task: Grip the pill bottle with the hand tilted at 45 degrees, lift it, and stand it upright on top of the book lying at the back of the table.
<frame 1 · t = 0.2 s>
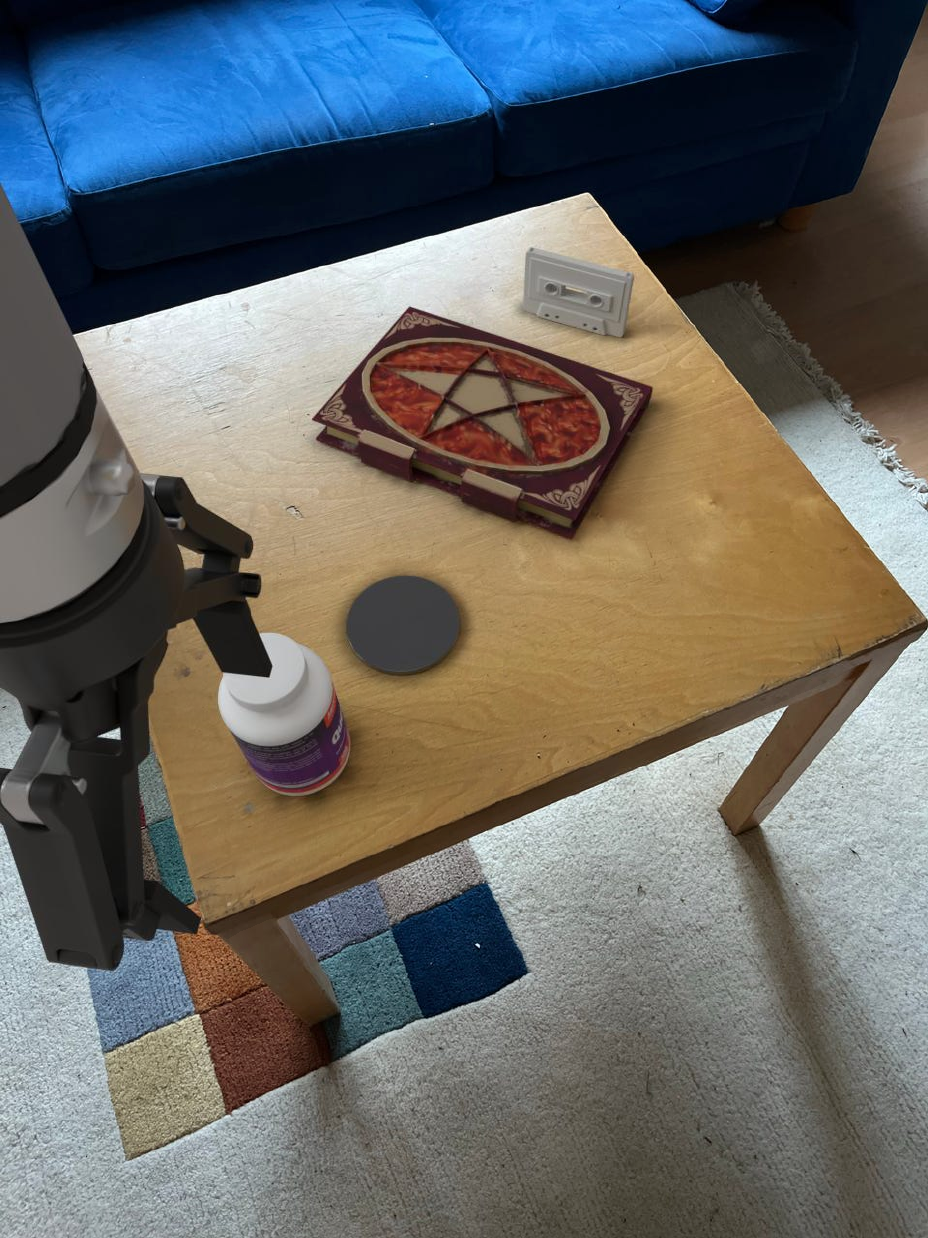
hand: (212, 786, 44), 23 cm above the table, tool pointing down, fingers open, 13 cm apart
coaster: (403, 625, 76), on the table
pill bottle: (303, 753, 70), on the table
book: (483, 426, 89), on the table
cassette: (572, 323, 97), on the table
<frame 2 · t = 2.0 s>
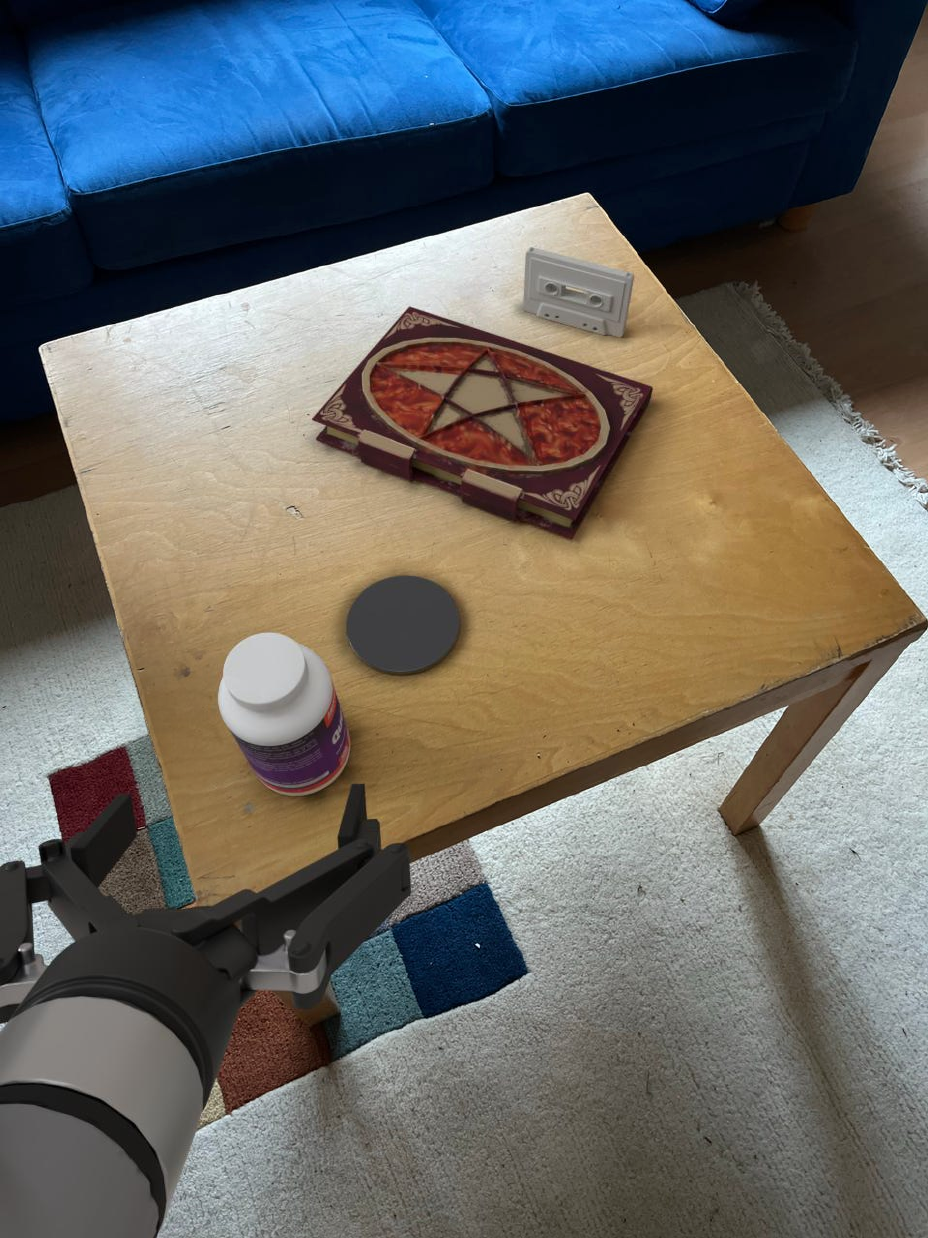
hand: (244, 809, 50), 16 cm above the table, tool tilted 45°, fingers open, 13 cm apart
nothing on the table moved.
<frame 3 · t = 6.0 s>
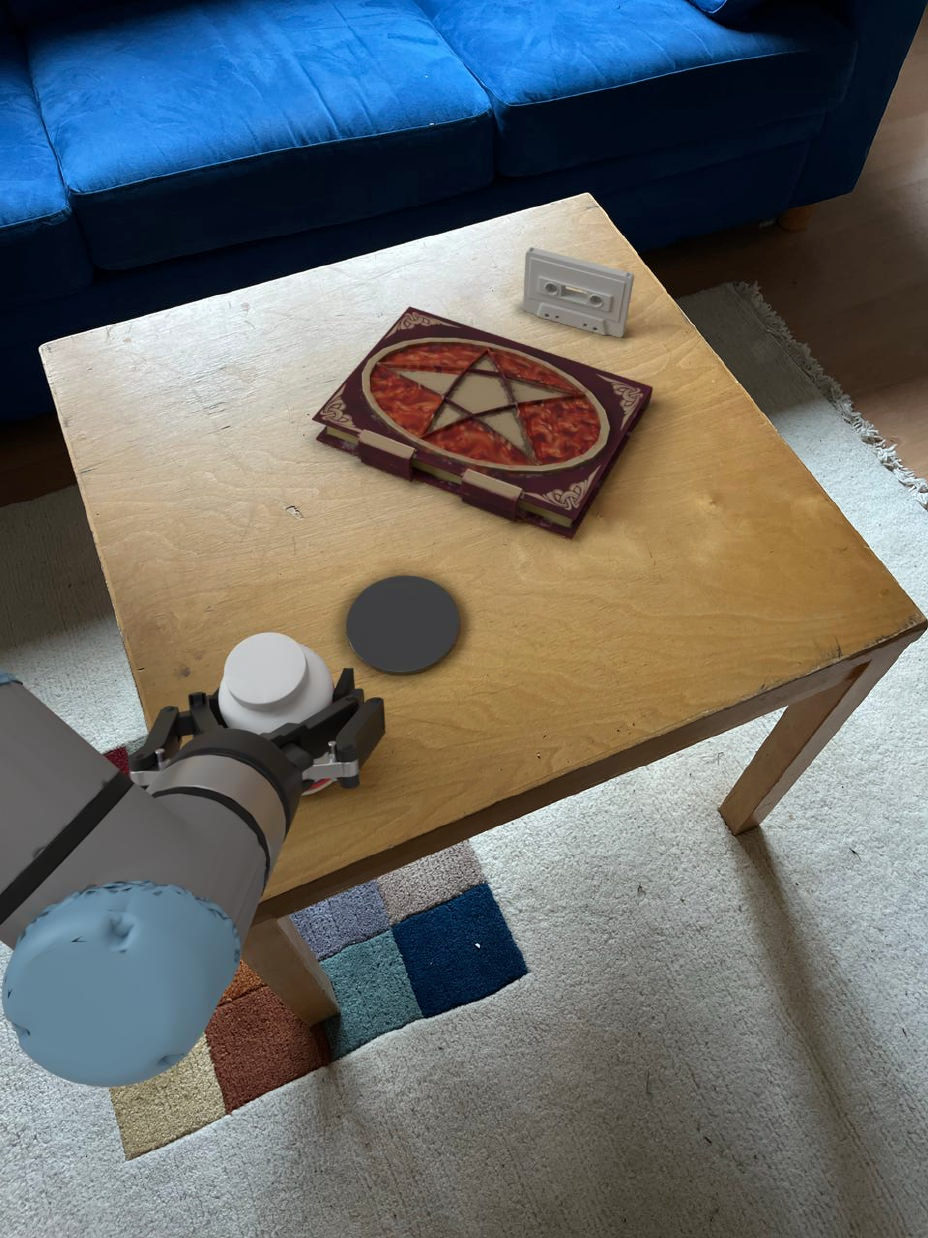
hand: (293, 686, 67), 5 cm above the table, tool tilted 45°, fingers closed on pill bottle, 8 cm apart
pill bottle: (302, 753, 70), on the table, touching gripper
everything else where it was.
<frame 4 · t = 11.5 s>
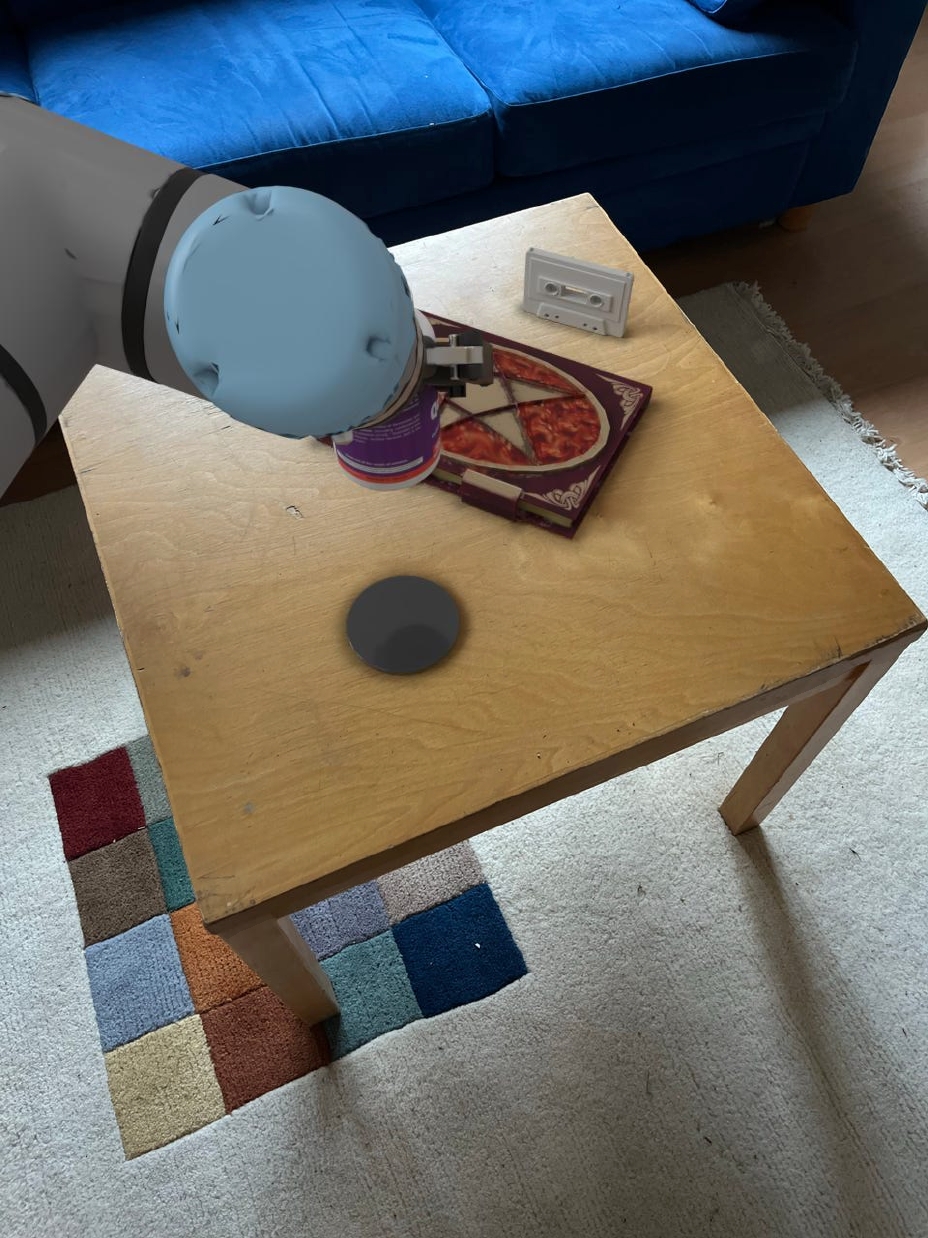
hand: (384, 374, 63), 21 cm above the table, tool tilted 45°, fingers closed on pill bottle, 8 cm apart
pill bottle: (389, 459, 66), point 15 cm above the table, touching gripper
everything else where it was.
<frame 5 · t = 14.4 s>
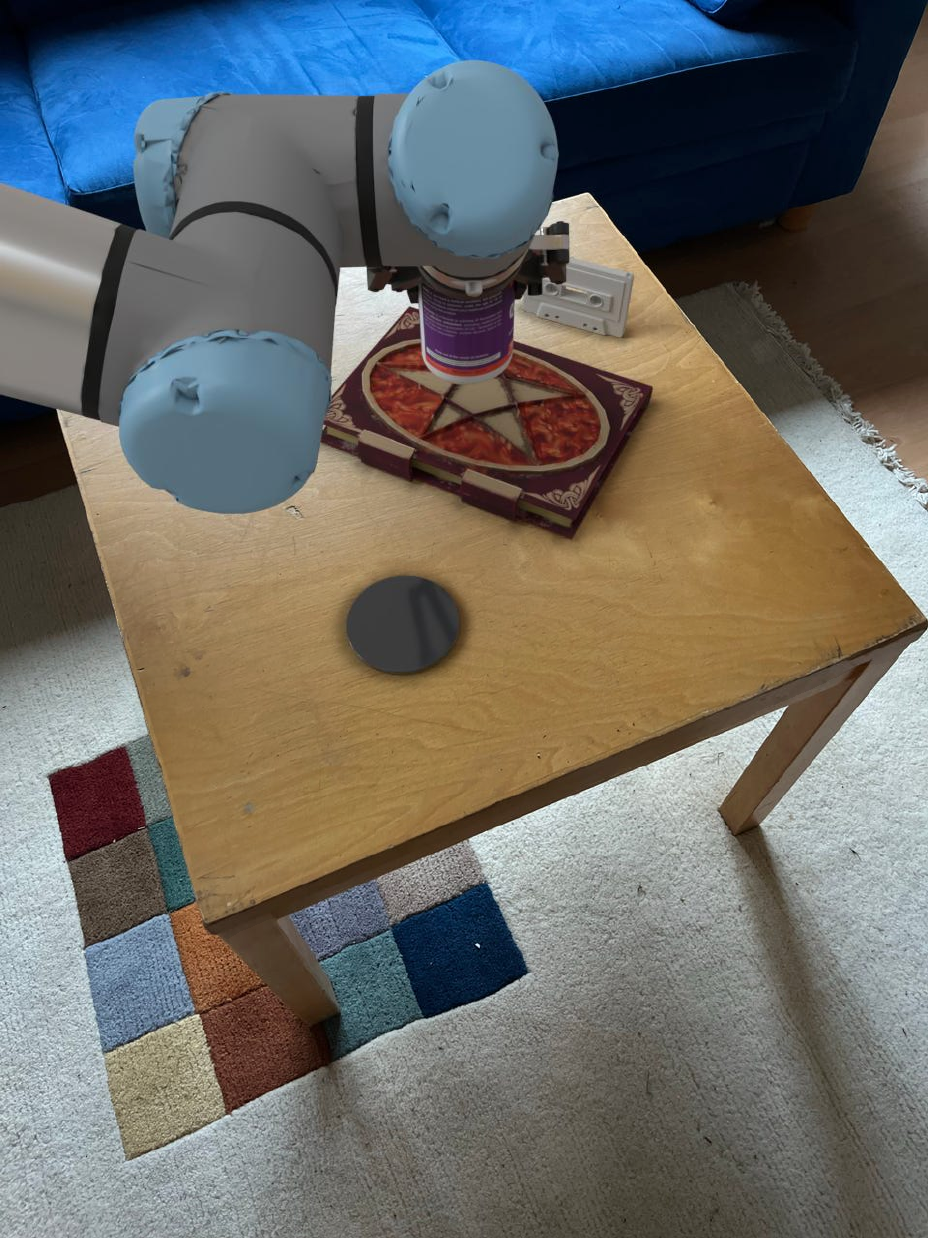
hand: (465, 284, 74), 17 cm above the table, tool tilted 45°, fingers closed on pill bottle, 8 cm apart
pill bottle: (467, 360, 76), point 12 cm above the table, touching gripper
everything else where it was.
when the fingers open (10 cm above the table, at t = 16.9 s): pill bottle stays where it is, resting on book.
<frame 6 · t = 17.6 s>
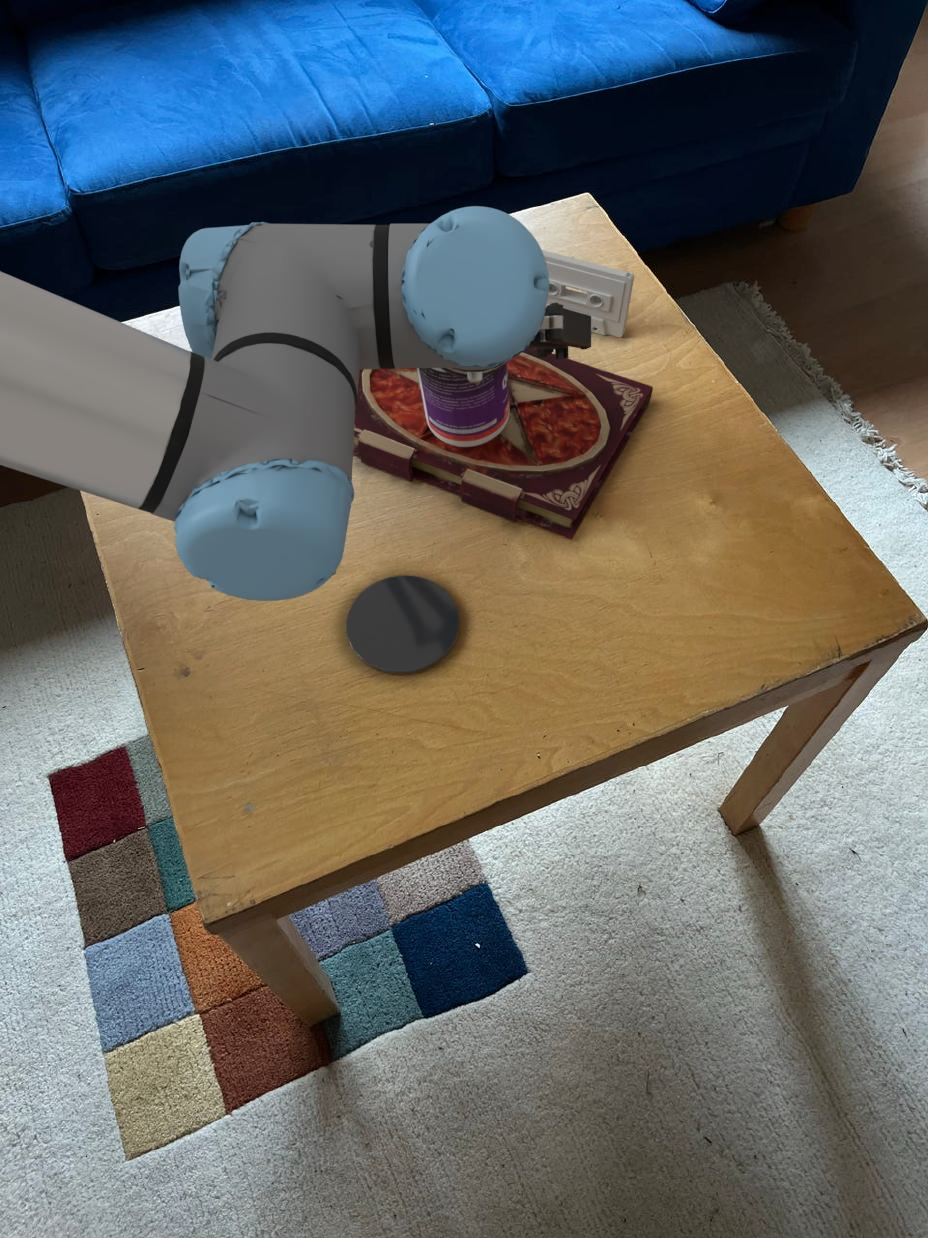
hand: (466, 344, 78), 12 cm above the table, tool tilted 45°, fingers open, 13 cm apart
pill bottle: (468, 420, 83), point 5 cm above the table, touching book
book: (483, 426, 89), on the table, touching pill bottle
everything else where it was.
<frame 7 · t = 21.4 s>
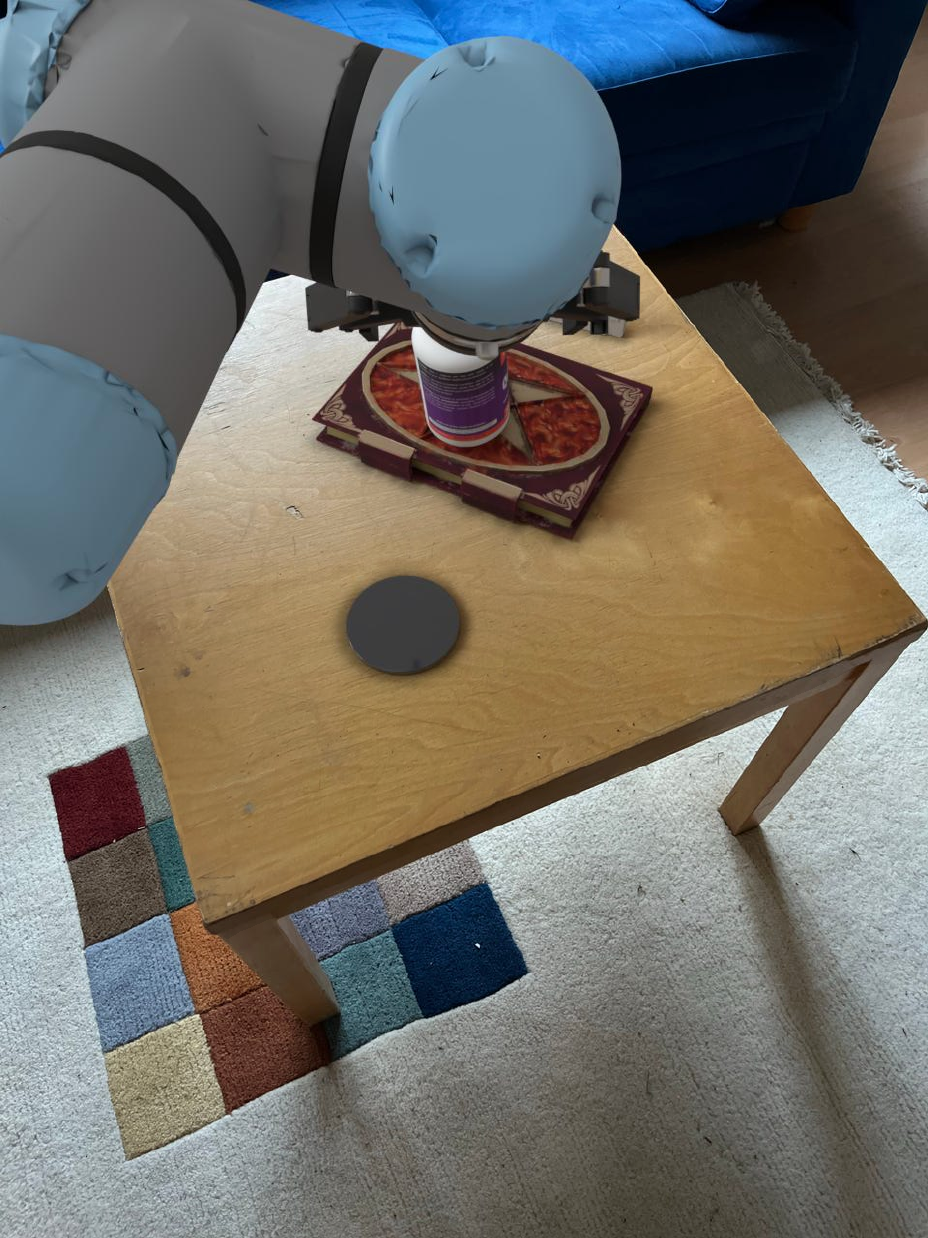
hand: (470, 317, 60), 25 cm above the table, tool tilted 45°, fingers open, 13 cm apart
nothing on the table moved.
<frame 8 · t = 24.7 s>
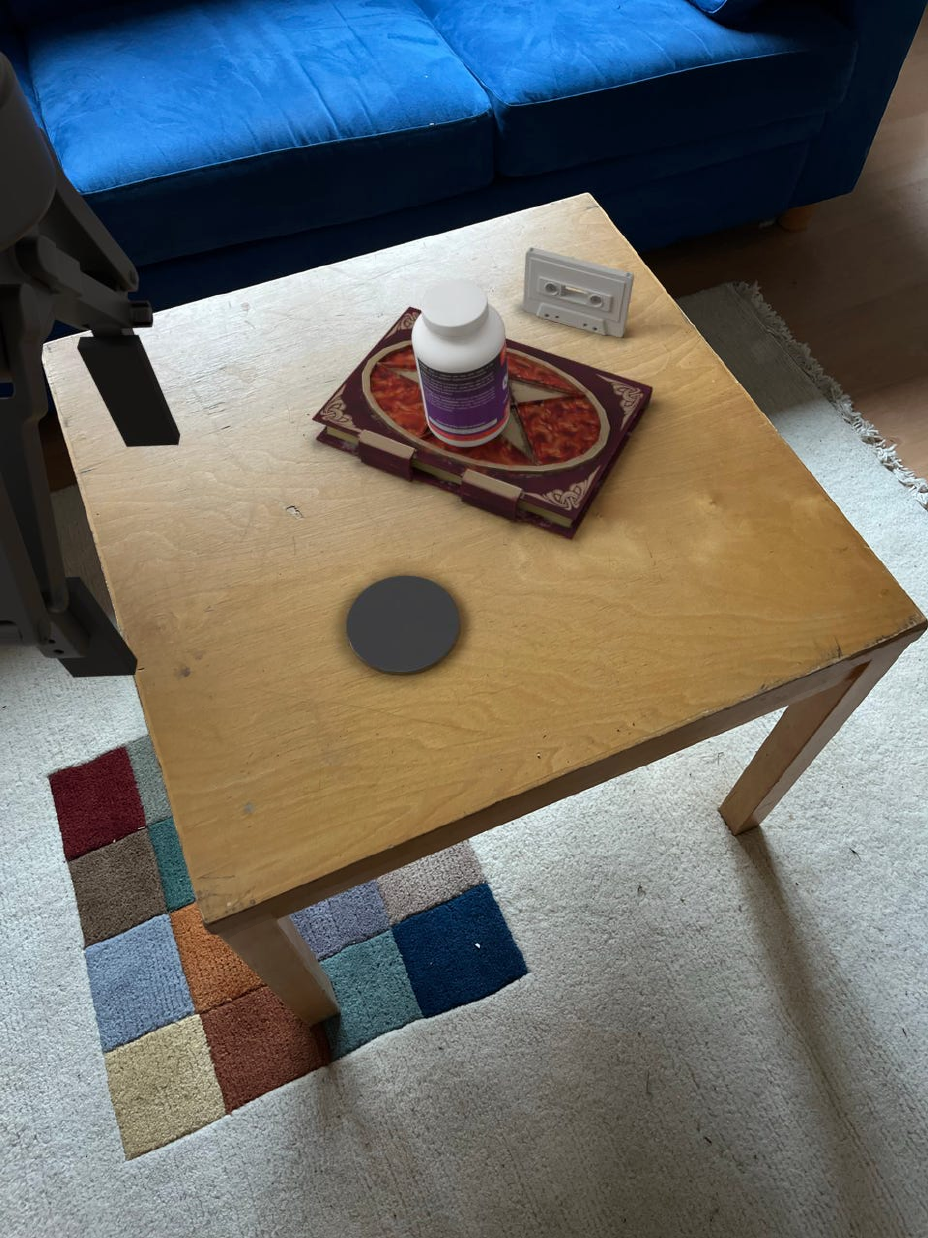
hand: (132, 545, 41), 32 cm above the table, tool pointing down, fingers open, 13 cm apart
nothing on the table moved.
at the end: pill bottle inside the target area on the book (4.1 cm from its centre), point 4.8 cm above the book's base; pill bottle tilted 6°; the gripper is holding nothing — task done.
